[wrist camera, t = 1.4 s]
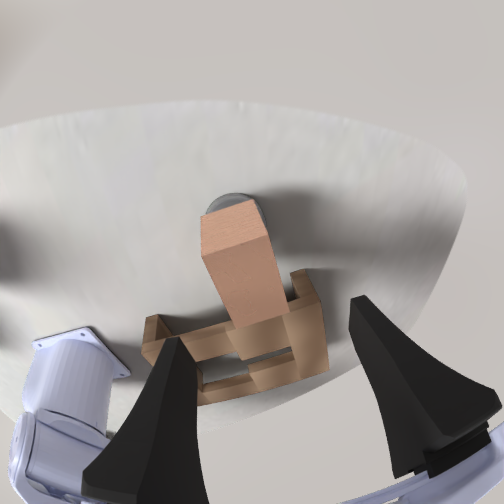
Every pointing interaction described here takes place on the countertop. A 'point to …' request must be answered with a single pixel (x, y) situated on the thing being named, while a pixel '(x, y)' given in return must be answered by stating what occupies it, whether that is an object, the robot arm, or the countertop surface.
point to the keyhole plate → (255, 346)
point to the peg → (242, 260)
